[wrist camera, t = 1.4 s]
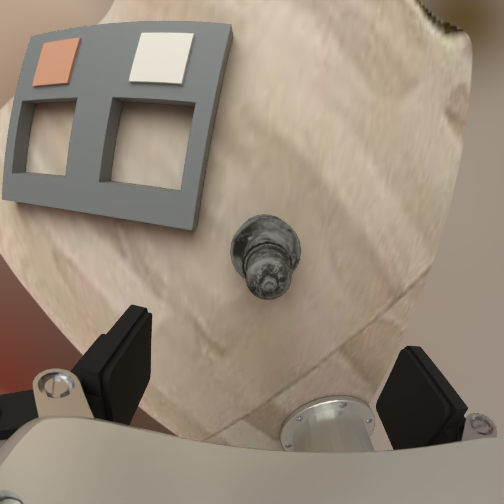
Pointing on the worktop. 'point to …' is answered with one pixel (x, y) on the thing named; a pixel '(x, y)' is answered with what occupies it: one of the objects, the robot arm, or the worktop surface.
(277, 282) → the salt shaker
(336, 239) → the worktop surface
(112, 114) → the socket board
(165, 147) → the worktop surface
